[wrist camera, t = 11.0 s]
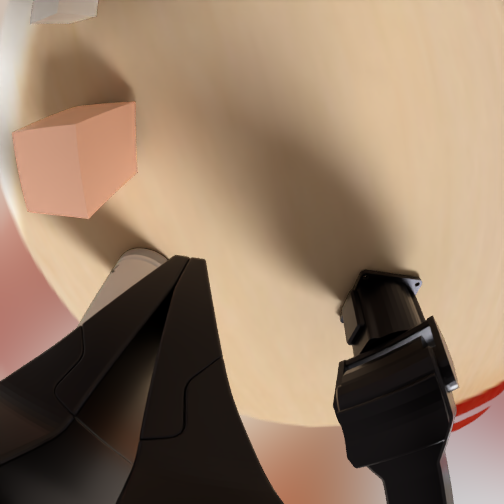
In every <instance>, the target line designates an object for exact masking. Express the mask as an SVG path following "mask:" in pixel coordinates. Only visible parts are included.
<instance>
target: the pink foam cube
mask: <svg viewBox="0 0 504 504" xmlns="http://www.w3.org/2000/svg"><path fill="white" fill-rule="evenodd" d="M12 136H13V143H14V150H15V156H16V162H17V167H18V173H19V177H20V182H21V187H22V191H23V195H24V199H25V203H26V207H27V211H28V212H33V213H42V214H50V215H59V216H68V217H76V218H85V219H89V218H90V217H91V216H92V215H93V214H94V213H95V212H96V211H97V210H98V209H99V208H100V207H101V206H102V205H103V204H104V203H105V202H106V201H107V200H108V199H109V198H110V197H111V196H112V195H113V194H114V193H116V192H117V191H118V190H119V189H120V188H121V187H122V186H123V185H124V184H125V183H126V182H127V181H129V180H130V179H131V178H132V177H133V176H134V175H135V174H136V173H138V172H137V154H136V120H135V102H116V103H103V104H92V105H83V106H75V107H72V108H70V109H67V110H64V111H61V112H59V113H56V114H54V115H51V116H48V117H46V118H44V119H41V120H39V121H36V122H34V123H32V124H30V125H27V126H25V127H23V128H21V129H19V130H17V131H14V132H12Z"/></svg>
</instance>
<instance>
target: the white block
mask: <svg viewBox="0 0 504 504" xmlns="http://www.w3.org/2000/svg"><path fill="white" fill-rule="evenodd" d="M97 7H98V0H33V6H32V12H31V20H30V24H71V23H74V22H78V21H81V20H85V19H89V18H93V17H96V15H97Z"/></svg>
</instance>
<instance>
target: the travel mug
mask: <svg viewBox="0 0 504 504" xmlns="http://www.w3.org/2000/svg"><path fill="white" fill-rule="evenodd" d="M166 261H167V259H166V258H165V257H164V256H162V255H160V254H159V253H157V252H155V251H152V250H149V249H144V248H135V249H131V250H128V251H126V252H125V253H124V254H123V255H122V256H121V257H120V259H119V260H118V262H117V263H116V265H115V267H114V268H113V269H112V271H111V272H110V274H109V275H108V277H107V279H106V280H105V282H104V283H103V285H102V286H101V288H100V290H99V291H98V293H97V294H96V296H95V298H94V299H93V301H92V303H91V304H90V306H89V308H88V309H87V311H86V313H85V314H84V316H83V318H82V320H81V321H80V323H79V325H78V326H80V325H81V326H82V324H83V323H84V322H85V321H86V320H88V319H89V318H90V317H92V316H93V315H94V314H95V313H97V312H98V311H99V310H101V309H102V308H103V307H105V306H106V305H107V304H109V303H110V302H111V301H113V300H114V299H115V298H117V297H118V296H119V295H121V294H122V293H123V292H125V291H126V290H127V289H129V288H130V287H131V286H133V285H134V284H135V283H137V282H138V281H140V280H141V279H142V278H144V277H145V276H146V275H148V274H149V273H151V272H152V271H153V270H155V269H156V268H157V267H159V266H160V265H162V264H163V263H164V262H166Z"/></svg>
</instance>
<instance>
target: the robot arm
mask: <svg viewBox="0 0 504 504" xmlns="http://www.w3.org/2000/svg"><path fill="white" fill-rule="evenodd" d="M365 275H367V276H366V277H364V276H365ZM417 282H418V283H417ZM421 285H422V281H421V279H420V278H419V277H412V276H405V275H398V274H391V273H384V272H377V271H370V270H364V271H362V272H361V273H360V274H359V276H358V279H357V281H356V283H355V285H354V288H353V290H351V291H350V292H349V295H348V297H347V299H346V301H345V303H344V306H343V308H342V314H341V316H340V321H341V322H342V323H344V328H345V334H346V341H347V343H348V345H352V347H353V353H354V357H353V358H351V359H348V360H344V361H341V362H339V367H338V375H337V381H336V388H335V394H334V402H333V408H334V410H335V413H336V417H337V419H338V421H339V423H340V425H341V427H342V430H343V433H344V438H345V444H346V452H347V458H348V460H349V461H350V462H351V464H352V465H353V466H354V467H355V468H361V467H365V466H367V467H368V468H369V469H370V470H371V471H372V472H373V473H375V474H376V475H377V476H378V477H379V478H380V479H382V481H383V485H384V490H385V495H386V501H387V504H454V503H453V495H452V488H451V481H450V475H449V470H448V465H447V459H446V454H445V449H446V446H447V443H448V440H449V436H450V433H451V430H452V426H453V423H454V419H455V415H456V405H455V402H454V398H453V394H452V391H453V390H455V389H457V388H459V385H458V381H457V376H456V372H455V368H454V364H453V361H452V358H451V355H450V352H449V350H448V347H447V345H446V342H445V340H444V337H443V335H442V333H441V331H440V329H439V327H438V325H437V323H436V321H435V319H434V317H433V315H432V316H431V317H429V318H427V320H426V321H425V318H424V316H423V313H422V311H421V308H420V306H419V303H418V301H417V298H416V296H415V295H416V293H417V292H418V290H419V288H420V287H421ZM0 504H284V503H283V502H282V500H281V499H280V498H279V496H278V495H277V493H276V492H275V490H274V489H273V487H272V485H271V484H270V482H269V480H268V478H267V477H266V475H265V473H264V471H263V469H262V467H261V465H260V463H259V460H258V458H257V456H256V453H255V451H254V449H253V447H252V444H251V442H250V440H249V437H248V435H247V433H246V430H245V428H244V426H243V423H242V421H241V418H240V416H239V413H238V410H237V407H236V405H235V402H234V399H233V396H232V393H231V389H230V386H229V382H228V378H227V374H226V369H225V364H224V360H223V355H222V350H221V345H220V339H219V334H218V329H217V323H216V318H215V312H214V307H213V301H212V295H211V289H210V283H209V277H208V271H207V265H206V261H205V259H200V258H189V257H187V256H180V255H175V256H173V257H171V258H170V259H169V260H167V261H166V262H164V263H163V264H162V265H160V266H159V267H157V268H156V269H155V270H153V271H152V272H151V273H149V274H148V275H146V276H145V277H144V278H142V279H141V280H140V281H138V282H137V283H135V284H134V285H133V286H131V287H130V288H129V289H127V290H126V291H125V292H123V293H122V294H121V295H119V296H118V297H117V298H115V299H114V300H113V301H111V302H110V303H109V304H107V305H106V306H105V307H103V308H102V309H101V310H99V311H98V312H97V313H95V314H94V315H93V316H92V317H90V318H89V319H88V320H86V321H85V322H84V323H83V324H82V326H81V325H80V326H78V327H77V328H76V329H75V330H73V331H72V332H71V333H70V334H68V335H67V336H66V337H64V338H63V339H62V340H61V341H59V342H58V343H56V344H55V345H54V346H52V347H51V348H49V349H48V350H46V351H45V352H43V353H42V354H41V355H39V356H38V357H36V358H35V359H33V360H32V361H30V362H29V363H27V364H26V365H24V366H23V367H21V368H20V369H18V370H17V371H15V372H14V373H12V374H11V375H9V376H8V377H6V378H5V379H3V380H1V381H0Z"/></svg>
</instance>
